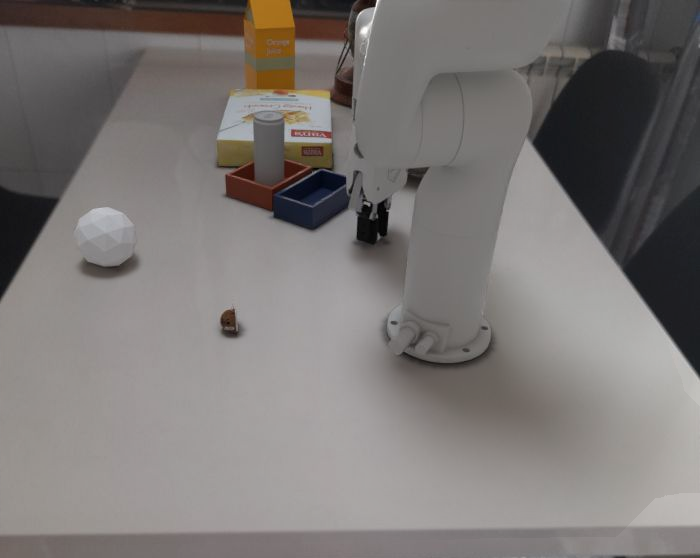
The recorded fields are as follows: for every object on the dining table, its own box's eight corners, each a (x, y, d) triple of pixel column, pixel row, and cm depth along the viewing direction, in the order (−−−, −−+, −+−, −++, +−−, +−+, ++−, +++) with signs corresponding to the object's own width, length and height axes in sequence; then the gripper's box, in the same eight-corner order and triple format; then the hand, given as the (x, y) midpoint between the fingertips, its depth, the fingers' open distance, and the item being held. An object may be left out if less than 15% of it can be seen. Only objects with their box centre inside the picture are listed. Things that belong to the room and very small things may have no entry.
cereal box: (330, 88, 145) (335, 139, 122) (329, 116, 148) (334, 170, 126) (229, 86, 144) (215, 137, 121) (230, 114, 147) (217, 168, 125)
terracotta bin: (272, 210, 112) (272, 189, 110) (226, 195, 116) (224, 174, 114) (312, 187, 120) (312, 166, 118) (267, 173, 124) (267, 153, 121)
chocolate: (222, 322, 87) (220, 294, 85) (240, 322, 87) (239, 294, 85) (218, 336, 85) (217, 308, 82) (237, 336, 85) (236, 308, 83)
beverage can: (249, 189, 117) (246, 116, 109) (265, 179, 120) (264, 107, 113) (274, 196, 115) (273, 122, 108) (290, 186, 118) (290, 114, 111)
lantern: (330, 80, 169) (335, -66, 151) (410, 86, 169) (425, -60, 151) (324, 106, 153) (329, -53, 136) (413, 112, 153) (429, -46, 136)
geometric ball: (127, 274, 100) (158, 231, 97) (93, 283, 92) (126, 236, 90) (87, 237, 100) (117, 193, 97) (51, 243, 93) (82, 195, 90)
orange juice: (245, 89, 160) (242, -10, 148) (282, 86, 163) (282, -11, 151) (256, 100, 154) (254, -2, 143) (295, 96, 158) (296, -3, 146)
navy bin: (312, 229, 108) (312, 207, 106) (273, 216, 111) (273, 195, 108) (357, 199, 117) (358, 179, 115) (320, 188, 120) (320, 167, 118)
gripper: (375, 132, 88) (366, 266, 98) (432, 103, 99) (419, 225, 110) (323, 120, 91) (320, 251, 101) (384, 93, 102) (376, 213, 113)
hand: (371, 237), depth 105 cm, fingers closed
